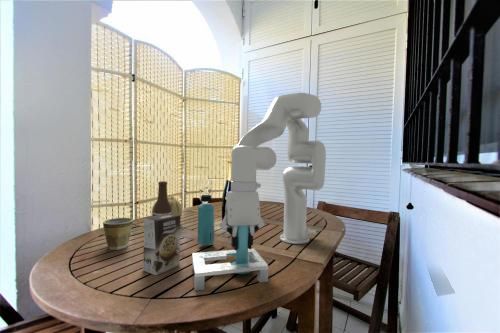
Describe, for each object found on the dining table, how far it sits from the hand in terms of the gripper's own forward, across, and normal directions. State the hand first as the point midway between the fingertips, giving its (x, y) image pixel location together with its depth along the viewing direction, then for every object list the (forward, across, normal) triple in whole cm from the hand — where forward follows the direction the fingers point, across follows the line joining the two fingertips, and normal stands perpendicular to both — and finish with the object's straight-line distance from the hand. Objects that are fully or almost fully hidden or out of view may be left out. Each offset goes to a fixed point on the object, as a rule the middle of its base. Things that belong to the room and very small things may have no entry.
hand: (242, 247), depth 74 cm
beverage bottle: (+8, +8, -25) cm, 27 cm away
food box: (+8, +23, -9) cm, 26 cm away
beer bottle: (+8, +25, -40) cm, 48 cm away
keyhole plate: (+8, +4, 0) cm, 9 cm away
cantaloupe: (+8, +24, -59) cm, 64 cm away
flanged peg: (+6, 0, 0) cm, 6 cm away
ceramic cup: (+8, +41, -33) cm, 53 cm away
